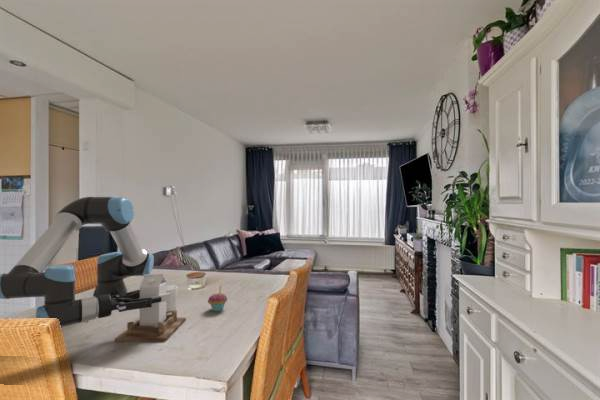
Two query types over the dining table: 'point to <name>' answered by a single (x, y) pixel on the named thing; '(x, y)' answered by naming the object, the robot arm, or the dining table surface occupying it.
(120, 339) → the walnut stand
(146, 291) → the milk carton
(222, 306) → the cupcake
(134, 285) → the dining table surface
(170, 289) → the white cup
